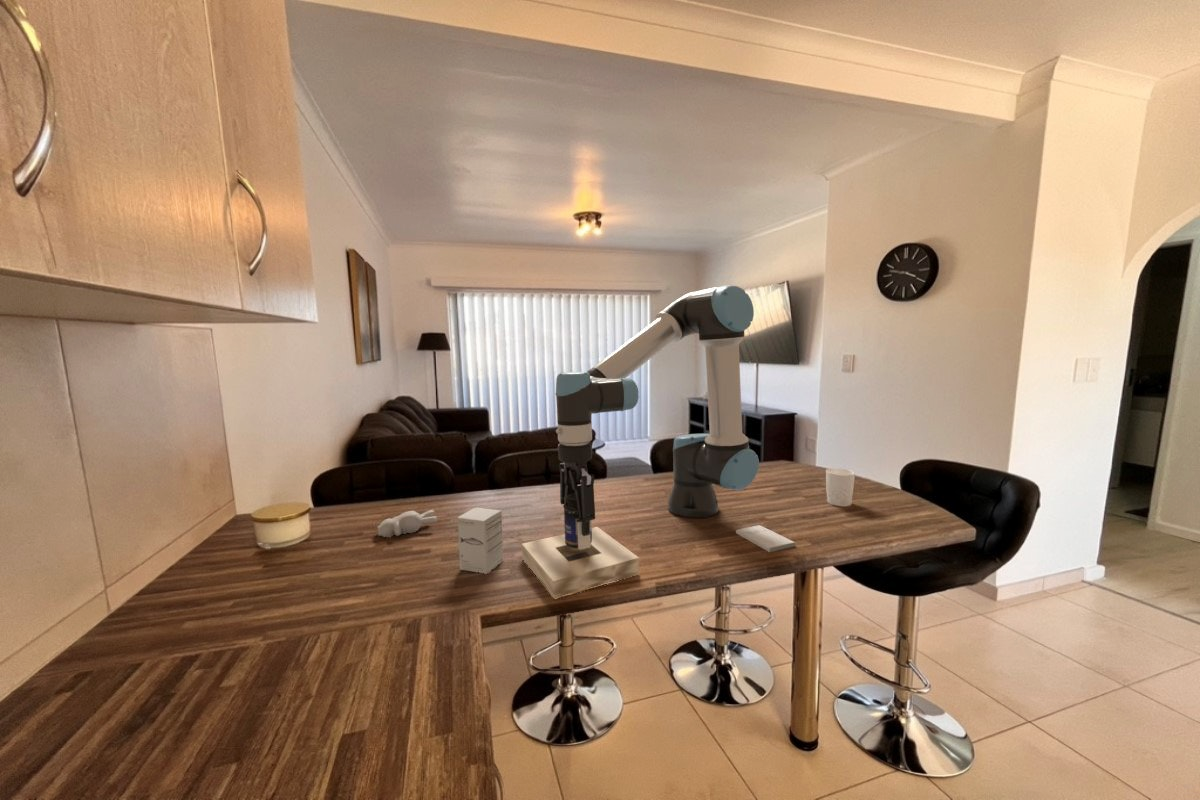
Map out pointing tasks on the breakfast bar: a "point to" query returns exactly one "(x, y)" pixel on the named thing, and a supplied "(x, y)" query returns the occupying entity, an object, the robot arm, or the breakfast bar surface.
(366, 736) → the breakfast bar surface
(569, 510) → the pill bottle
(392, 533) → the bunny figurine
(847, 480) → the white cup
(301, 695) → the breakfast bar surface
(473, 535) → the supplement box
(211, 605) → the breakfast bar surface
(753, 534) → the external hard drive
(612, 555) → the socket block
